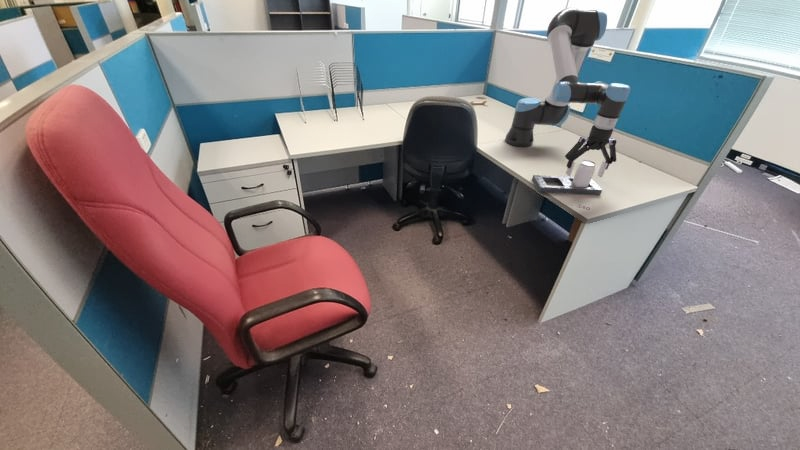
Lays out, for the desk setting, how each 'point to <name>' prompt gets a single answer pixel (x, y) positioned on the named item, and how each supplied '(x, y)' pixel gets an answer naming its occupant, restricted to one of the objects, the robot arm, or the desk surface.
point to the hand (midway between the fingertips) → (583, 175)
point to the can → (584, 173)
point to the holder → (564, 185)
